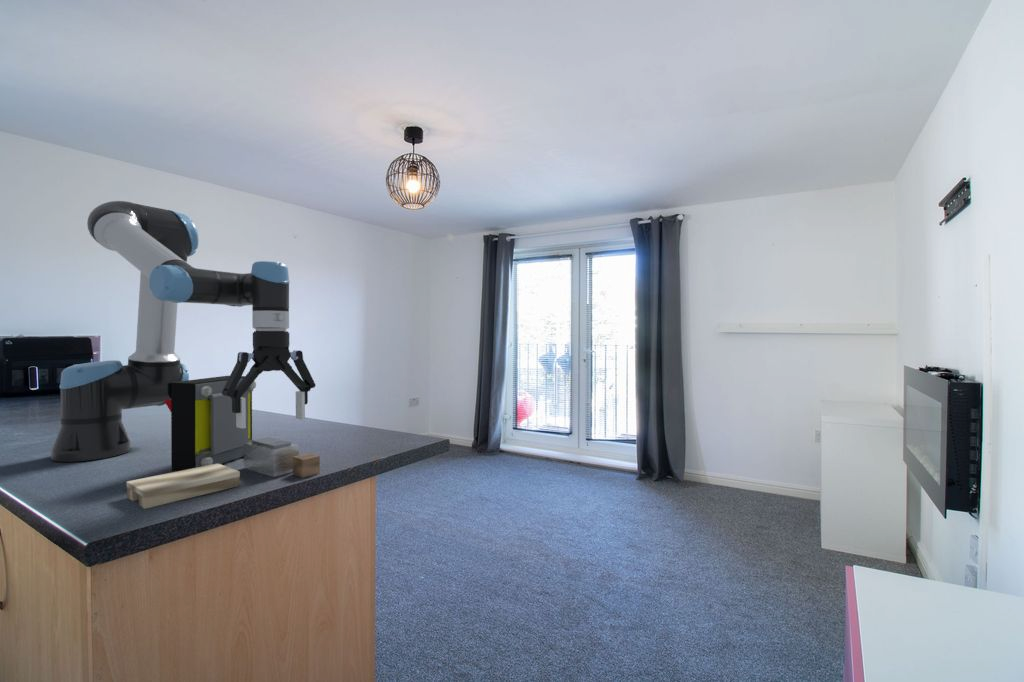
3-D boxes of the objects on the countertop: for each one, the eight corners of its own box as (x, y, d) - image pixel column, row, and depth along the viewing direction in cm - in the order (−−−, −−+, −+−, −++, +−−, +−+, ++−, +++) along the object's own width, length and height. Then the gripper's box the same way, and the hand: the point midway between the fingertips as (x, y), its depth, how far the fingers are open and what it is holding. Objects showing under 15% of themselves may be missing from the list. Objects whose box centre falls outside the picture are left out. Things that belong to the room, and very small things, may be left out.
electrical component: (202, 473, 106) (202, 383, 106) (164, 470, 108) (163, 382, 108) (259, 453, 124) (259, 376, 123) (225, 451, 126) (225, 375, 125)
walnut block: (292, 474, 106) (292, 456, 106) (309, 470, 110) (309, 453, 110) (302, 478, 104) (302, 459, 104) (319, 473, 107) (319, 455, 107)
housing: (243, 469, 111) (243, 440, 111) (268, 463, 116) (268, 435, 116) (273, 477, 104) (273, 447, 104) (298, 471, 109) (298, 442, 109)
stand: (126, 497, 91) (126, 481, 91) (218, 477, 104) (218, 463, 104) (145, 509, 85) (145, 492, 85) (239, 486, 98) (239, 471, 98)
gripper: (219, 329, 97) (220, 434, 97) (329, 330, 117) (330, 416, 117) (203, 330, 102) (204, 429, 102) (312, 330, 122) (313, 414, 122)
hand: (272, 423), depth 110 cm, fingers open, 13 cm apart
